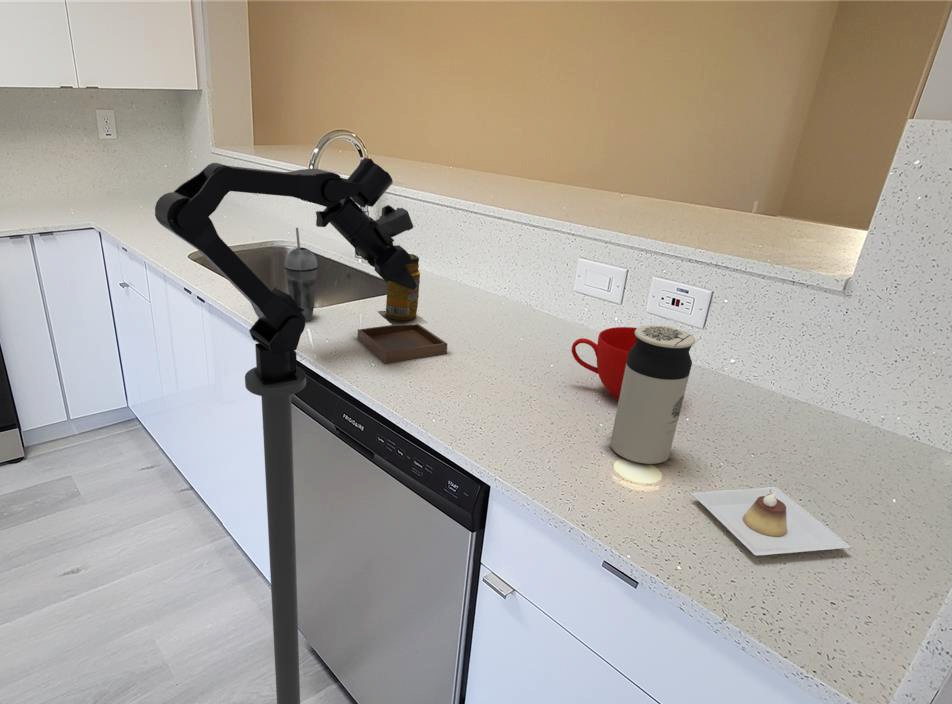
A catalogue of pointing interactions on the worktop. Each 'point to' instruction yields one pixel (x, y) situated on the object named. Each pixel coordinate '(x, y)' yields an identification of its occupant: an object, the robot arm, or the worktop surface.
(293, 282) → the beverage cup
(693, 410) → the worktop surface
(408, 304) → the condiment
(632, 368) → the travel mug
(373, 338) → the tray
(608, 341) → the ceramic cup
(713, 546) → the worktop surface
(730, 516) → the dessert
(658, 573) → the worktop surface
